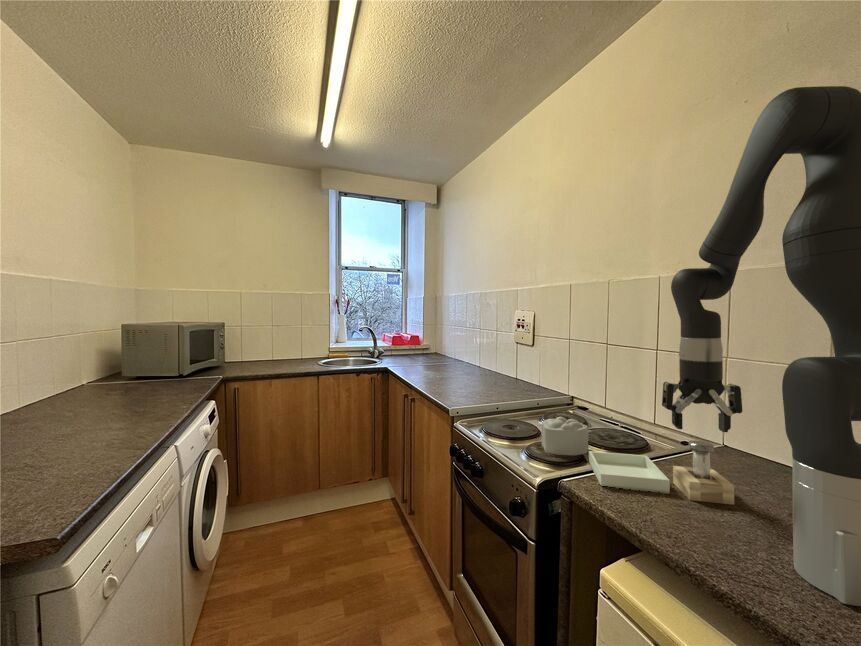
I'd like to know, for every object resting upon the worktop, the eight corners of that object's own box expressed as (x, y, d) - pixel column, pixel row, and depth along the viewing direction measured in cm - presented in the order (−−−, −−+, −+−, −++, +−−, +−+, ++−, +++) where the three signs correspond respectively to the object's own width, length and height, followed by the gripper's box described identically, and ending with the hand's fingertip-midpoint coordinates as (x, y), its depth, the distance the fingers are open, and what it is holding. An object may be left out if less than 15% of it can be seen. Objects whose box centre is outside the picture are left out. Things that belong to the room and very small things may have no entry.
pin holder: (734, 504, 70) (734, 485, 70) (689, 500, 72) (689, 481, 72) (712, 486, 77) (712, 469, 77) (673, 482, 79) (672, 465, 79)
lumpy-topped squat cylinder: (540, 441, 108) (539, 415, 108) (582, 443, 106) (581, 415, 106) (546, 454, 97) (546, 425, 97) (593, 456, 95) (593, 426, 95)
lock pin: (719, 499, 72) (718, 448, 72) (695, 496, 73) (694, 446, 73) (708, 489, 76) (707, 441, 76) (685, 487, 77) (684, 439, 77)
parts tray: (669, 493, 74) (669, 480, 74) (601, 486, 78) (600, 473, 78) (646, 466, 88) (646, 455, 88) (588, 462, 91) (588, 451, 91)
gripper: (670, 359, 72) (671, 433, 73) (750, 360, 69) (750, 438, 69) (657, 355, 80) (657, 422, 80) (728, 356, 76) (728, 426, 76)
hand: (700, 429), depth 75 cm, fingers open, 8 cm apart
